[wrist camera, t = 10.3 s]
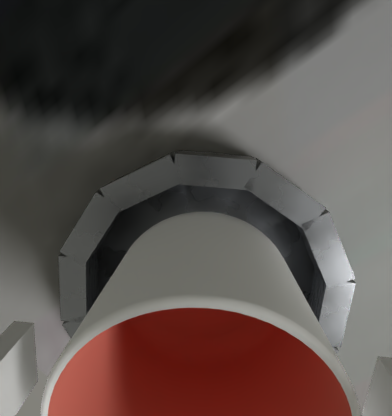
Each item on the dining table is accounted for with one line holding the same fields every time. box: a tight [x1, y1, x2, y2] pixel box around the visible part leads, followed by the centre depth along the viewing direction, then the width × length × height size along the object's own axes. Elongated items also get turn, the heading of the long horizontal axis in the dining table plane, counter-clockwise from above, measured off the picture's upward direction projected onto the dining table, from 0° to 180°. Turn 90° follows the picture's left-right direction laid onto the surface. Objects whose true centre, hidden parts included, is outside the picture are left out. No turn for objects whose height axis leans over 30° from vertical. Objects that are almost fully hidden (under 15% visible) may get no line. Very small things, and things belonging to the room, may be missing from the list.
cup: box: [40, 212, 361, 416], centre depth 15 cm, size 10×10×10 cm
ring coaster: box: [58, 151, 356, 353], centre depth 19 cm, size 16×16×3 cm
